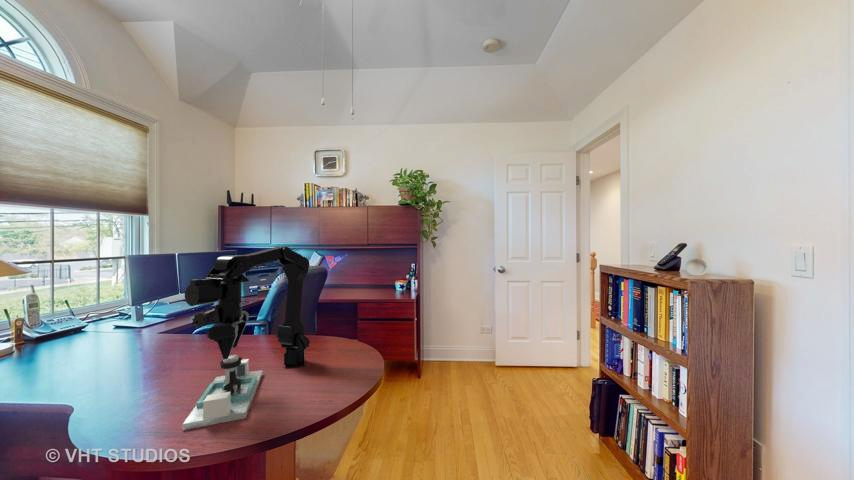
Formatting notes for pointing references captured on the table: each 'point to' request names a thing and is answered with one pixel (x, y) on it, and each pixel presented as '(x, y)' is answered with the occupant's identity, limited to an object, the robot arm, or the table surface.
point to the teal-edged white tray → (238, 401)
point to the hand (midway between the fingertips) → (230, 352)
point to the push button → (231, 373)
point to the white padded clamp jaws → (222, 397)
